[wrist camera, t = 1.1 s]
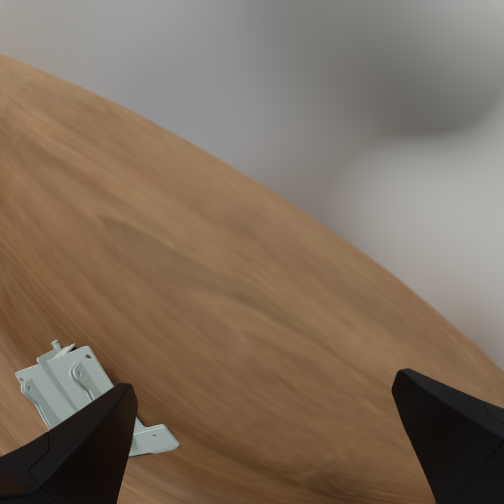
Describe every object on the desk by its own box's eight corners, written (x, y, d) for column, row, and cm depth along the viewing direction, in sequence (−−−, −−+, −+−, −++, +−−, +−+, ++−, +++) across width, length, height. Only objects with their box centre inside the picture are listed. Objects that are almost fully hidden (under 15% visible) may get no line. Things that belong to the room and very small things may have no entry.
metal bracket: (-8, 376, 15) (93, 338, 17) (18, 354, 21) (115, 313, 23) (74, 479, 17) (186, 464, 19) (86, 449, 23) (187, 427, 25)
